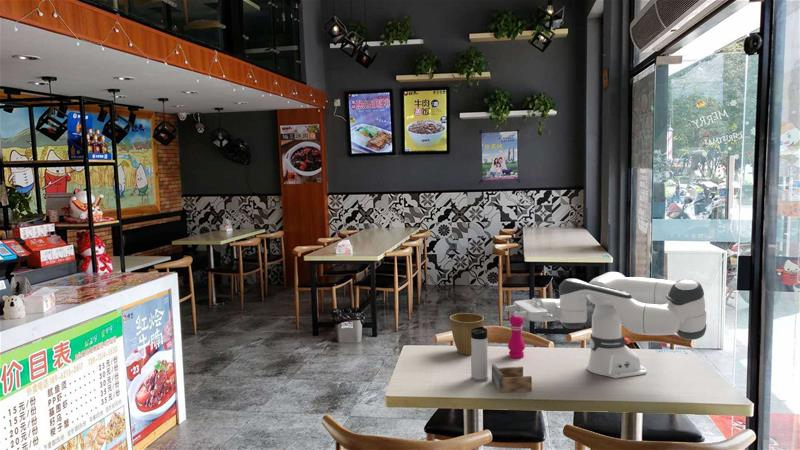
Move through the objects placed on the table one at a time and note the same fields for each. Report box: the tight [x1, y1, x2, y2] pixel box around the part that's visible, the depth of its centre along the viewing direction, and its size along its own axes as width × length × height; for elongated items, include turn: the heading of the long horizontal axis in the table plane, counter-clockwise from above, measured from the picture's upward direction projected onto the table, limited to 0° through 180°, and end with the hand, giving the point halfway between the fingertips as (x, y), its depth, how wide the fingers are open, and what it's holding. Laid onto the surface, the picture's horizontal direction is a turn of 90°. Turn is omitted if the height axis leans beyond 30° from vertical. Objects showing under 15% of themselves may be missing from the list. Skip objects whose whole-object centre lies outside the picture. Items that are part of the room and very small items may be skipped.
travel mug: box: [470, 326, 489, 383], centre depth 234 cm, size 6×7×20 cm
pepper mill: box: [507, 311, 526, 359], centre depth 260 cm, size 7×7×20 cm
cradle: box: [491, 363, 533, 394], centre depth 227 cm, size 12×12×7 cm
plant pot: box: [449, 312, 485, 356], centre depth 266 cm, size 15×15×16 cm
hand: (509, 311), depth 233 cm, fingers open, 8 cm apart
